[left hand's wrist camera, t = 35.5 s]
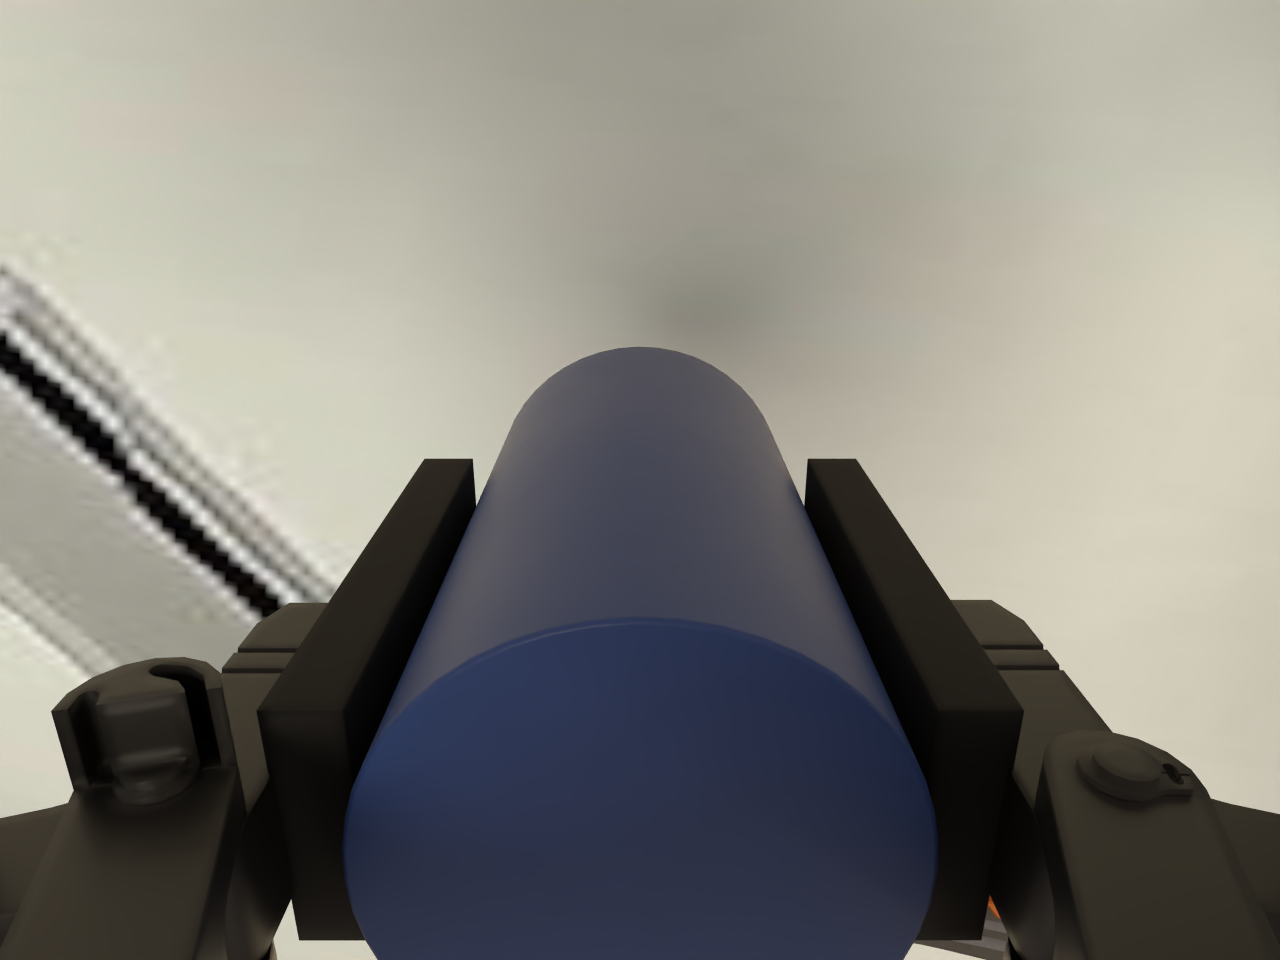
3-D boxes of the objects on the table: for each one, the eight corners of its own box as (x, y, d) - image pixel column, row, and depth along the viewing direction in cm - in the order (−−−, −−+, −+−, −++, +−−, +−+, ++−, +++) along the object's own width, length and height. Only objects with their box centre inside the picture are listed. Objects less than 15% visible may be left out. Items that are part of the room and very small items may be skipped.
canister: (826, 408, 16) (1055, 741, 7) (712, 639, 18) (785, 1136, 9) (555, 301, 15) (441, 527, 7) (465, 554, 17) (277, 1000, 8)
